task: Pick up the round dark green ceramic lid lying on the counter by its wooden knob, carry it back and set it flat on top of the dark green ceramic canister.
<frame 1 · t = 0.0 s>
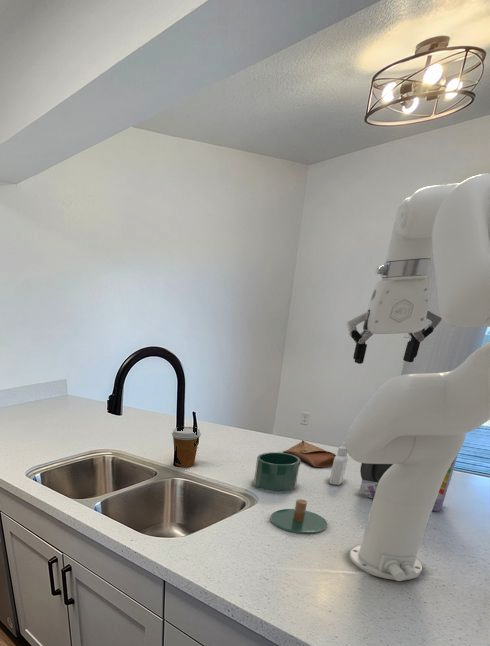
hand: (382, 362, 94), 37 cm above the worktop, tool pointing down, fingers open, 9 cm apart
sunglasses case: (308, 459, 148), on the worktop
disposable coffee cup: (184, 464, 150), on the worktop
lid: (297, 521, 107), point 1 cm above the worktop
canister: (274, 485, 129), on the worktop
cake pan box: (395, 501, 116), on the worktop
eye dropper bottle: (335, 482, 130), on the worktop
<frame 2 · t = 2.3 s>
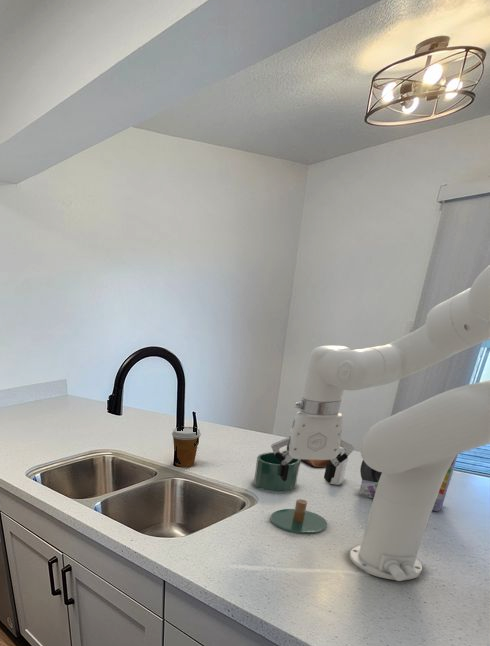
hand: (305, 479, 103), 12 cm above the worktop, tool pointing down, fingers open, 9 cm apart
nothing on the worktop moved.
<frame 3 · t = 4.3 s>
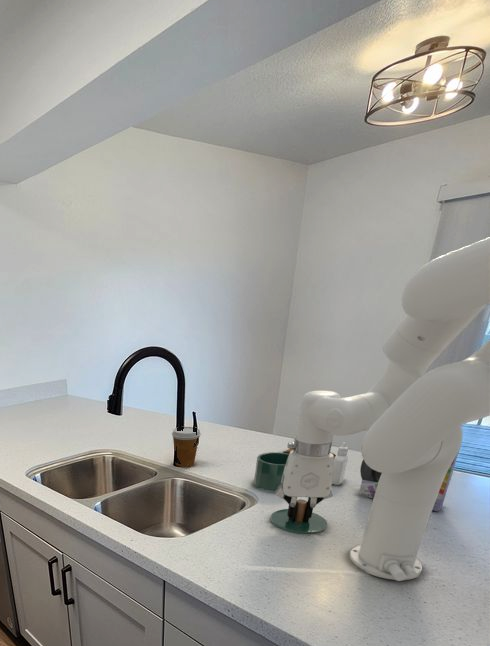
hand: (298, 519, 107), 1 cm above the worktop, tool pointing down, fingers closed on lid, 2 cm apart
lid: (297, 521, 107), point 1 cm above the worktop, touching gripper
everything else where it was.
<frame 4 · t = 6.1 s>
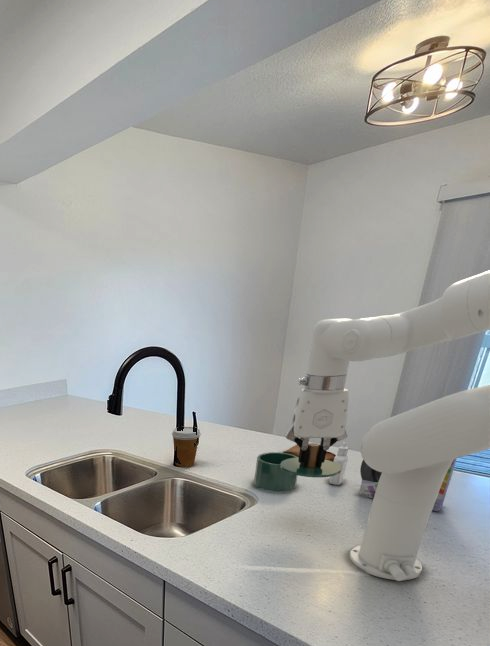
hand: (310, 464, 100), 16 cm above the worktop, tool pointing down, fingers closed on lid, 2 cm apart
lid: (309, 468, 101), point 15 cm above the worktop, touching gripper
everything else where it was.
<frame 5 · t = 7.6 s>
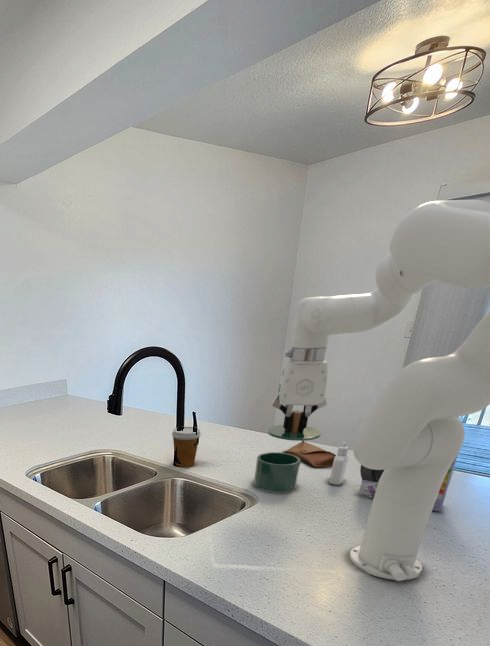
hand: (293, 430, 112), 20 cm above the worktop, tool pointing down, fingers closed on lid, 2 cm apart
lid: (293, 433, 112), point 19 cm above the worktop, touching gripper
everything else where it was.
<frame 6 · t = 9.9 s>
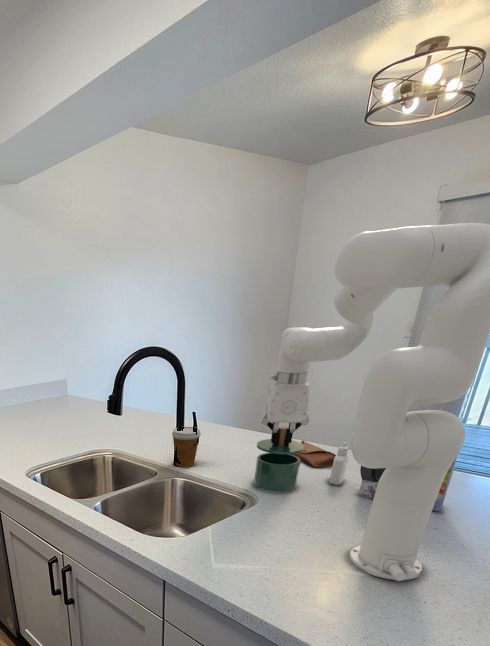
hand: (280, 444, 124), 13 cm above the worktop, tool pointing down, fingers closed on lid, 2 cm apart
lid: (280, 447, 124), point 12 cm above the worktop, touching gripper
everything else where it was.
when the fingers open (9 cm above the worktop, at t = 11.1 s): lid stays where it is, resting on canister.
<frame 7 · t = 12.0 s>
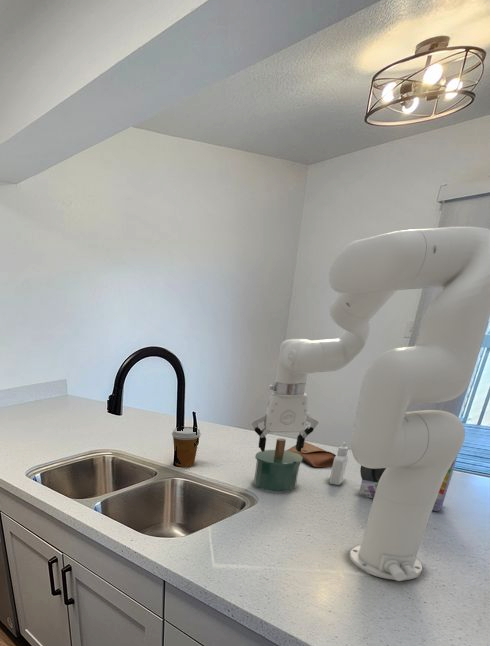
hand: (280, 450, 124), 11 cm above the worktop, tool pointing down, fingers open, 9 cm apart
lid: (278, 458, 126), point 8 cm above the worktop, touching canister
everything else where it was.
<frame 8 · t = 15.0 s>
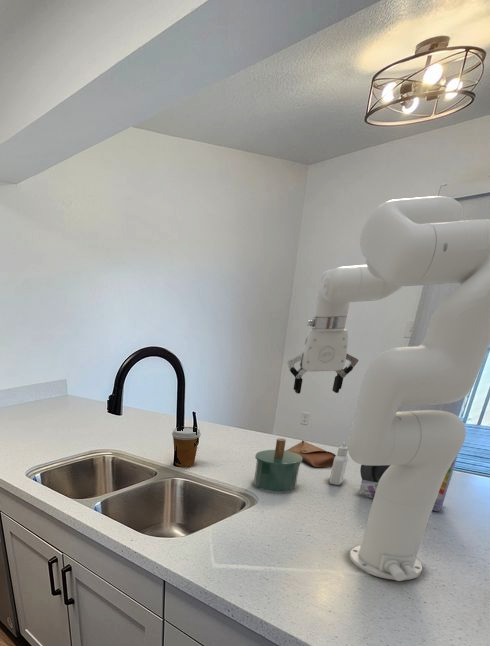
hand: (316, 392, 119), 26 cm above the worktop, tool pointing down, fingers open, 9 cm apart
nothing on the worktop moved.
at the end: lid 0.1 cm off-centre on the canister, point 8.5 cm above the canister's base; lid tilted 0° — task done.
